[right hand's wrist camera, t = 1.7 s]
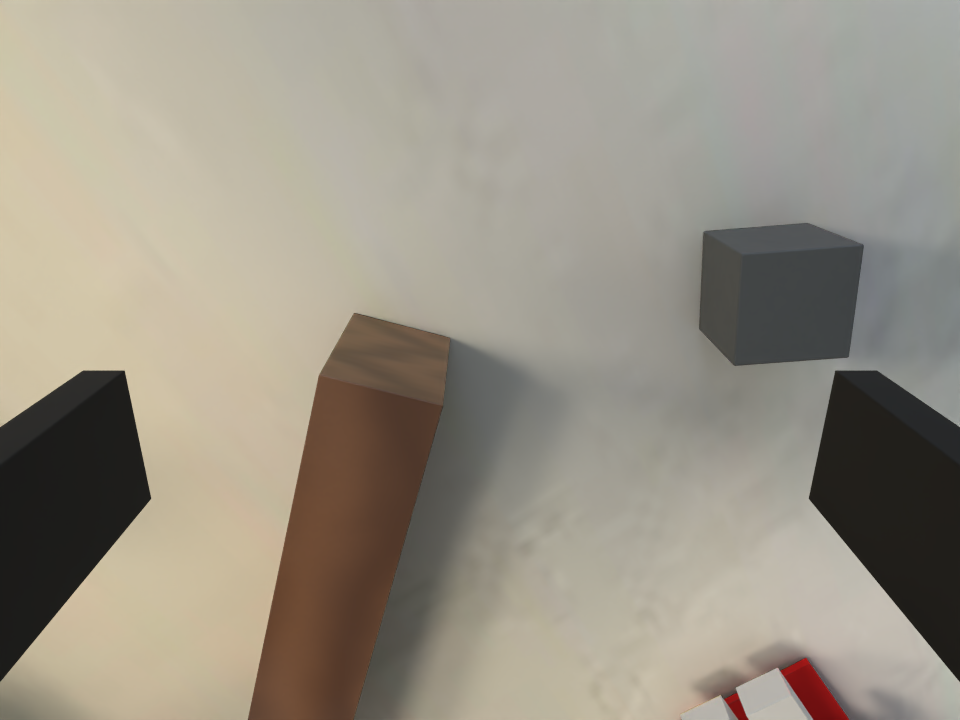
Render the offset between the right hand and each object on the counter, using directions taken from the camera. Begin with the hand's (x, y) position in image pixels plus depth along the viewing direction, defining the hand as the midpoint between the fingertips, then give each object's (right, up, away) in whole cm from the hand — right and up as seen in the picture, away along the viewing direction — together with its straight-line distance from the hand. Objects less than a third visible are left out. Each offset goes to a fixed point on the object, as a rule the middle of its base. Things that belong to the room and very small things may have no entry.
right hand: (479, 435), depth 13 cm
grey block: (+13, +6, +20) cm, 25 cm away
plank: (-8, -9, +26) cm, 29 cm away
